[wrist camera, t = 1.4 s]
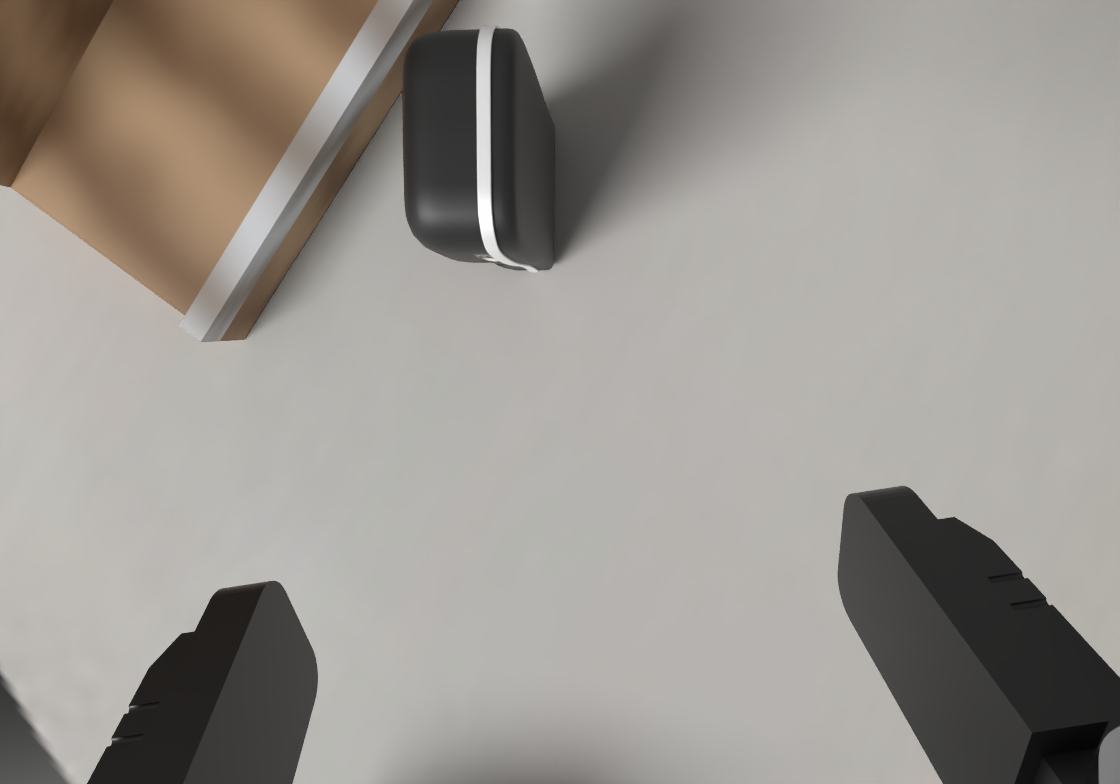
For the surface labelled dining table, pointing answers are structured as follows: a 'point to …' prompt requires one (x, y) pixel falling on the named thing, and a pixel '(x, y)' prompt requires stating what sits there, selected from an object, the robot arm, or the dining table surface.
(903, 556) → the robot arm
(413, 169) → the battery charger
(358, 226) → the dining table surface
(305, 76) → the shelf
